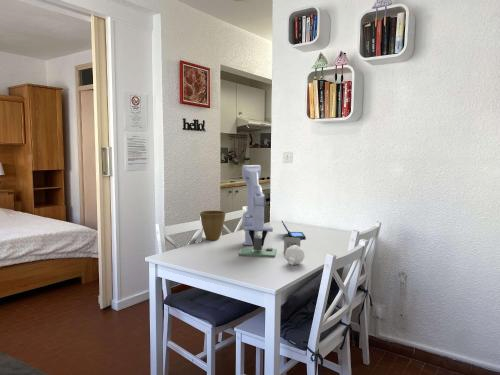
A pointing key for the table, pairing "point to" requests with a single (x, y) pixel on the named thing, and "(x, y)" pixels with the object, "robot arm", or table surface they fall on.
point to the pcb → (258, 252)
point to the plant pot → (212, 223)
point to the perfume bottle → (294, 254)
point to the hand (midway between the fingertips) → (258, 245)
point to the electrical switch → (291, 242)
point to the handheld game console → (295, 233)
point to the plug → (258, 243)
